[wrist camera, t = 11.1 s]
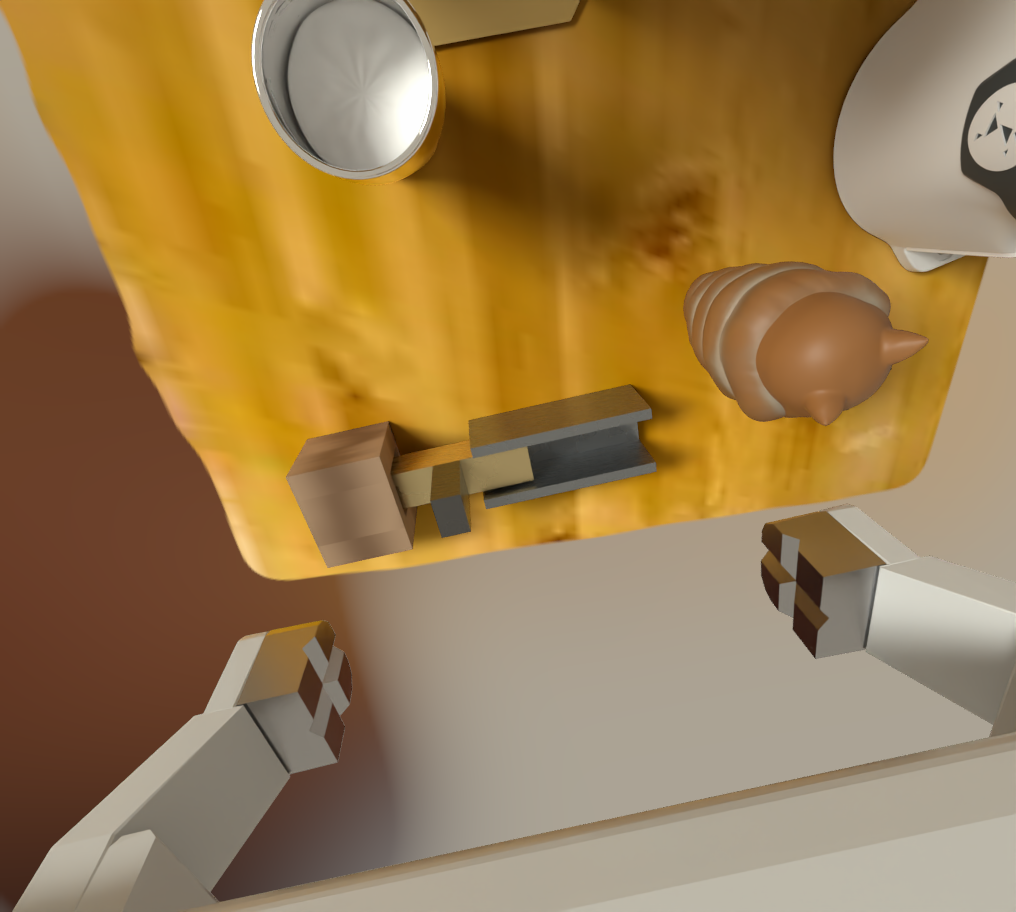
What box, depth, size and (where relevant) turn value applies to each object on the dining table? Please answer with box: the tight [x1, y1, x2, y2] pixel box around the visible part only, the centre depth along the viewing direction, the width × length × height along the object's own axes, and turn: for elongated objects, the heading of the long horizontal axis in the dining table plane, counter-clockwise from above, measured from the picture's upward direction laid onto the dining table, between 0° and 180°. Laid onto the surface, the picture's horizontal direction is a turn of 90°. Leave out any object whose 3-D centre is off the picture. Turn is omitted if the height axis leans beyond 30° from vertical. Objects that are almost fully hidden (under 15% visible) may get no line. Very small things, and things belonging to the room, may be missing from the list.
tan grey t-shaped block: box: [390, 440, 534, 538], centre depth 39 cm, size 14×3×8 cm, turn 102°
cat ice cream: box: [683, 262, 929, 426], centre depth 31 cm, size 9×8×18 cm
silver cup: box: [251, 0, 446, 186], centre depth 26 cm, size 7×7×15 cm
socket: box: [286, 421, 417, 568], centre depth 40 cm, size 6×8×6 cm
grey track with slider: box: [469, 385, 656, 509], centre depth 41 cm, size 13×5×5 cm, turn 101°
